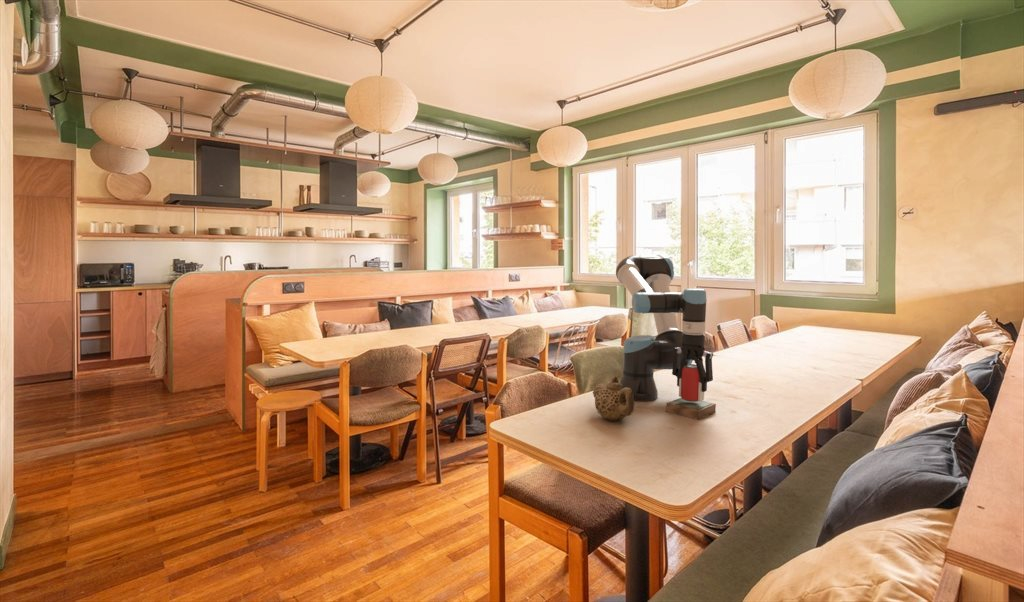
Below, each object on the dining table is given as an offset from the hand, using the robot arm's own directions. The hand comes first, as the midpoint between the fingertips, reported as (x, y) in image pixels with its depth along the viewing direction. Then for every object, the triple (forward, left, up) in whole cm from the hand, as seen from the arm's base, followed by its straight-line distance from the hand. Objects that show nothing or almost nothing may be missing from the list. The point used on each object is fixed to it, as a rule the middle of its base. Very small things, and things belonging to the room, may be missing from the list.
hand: (691, 398), depth 173 cm
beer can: (0, 0, -1) cm, 1 cm away
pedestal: (0, 0, -5) cm, 5 cm away
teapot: (-13, -27, -5) cm, 31 cm away
